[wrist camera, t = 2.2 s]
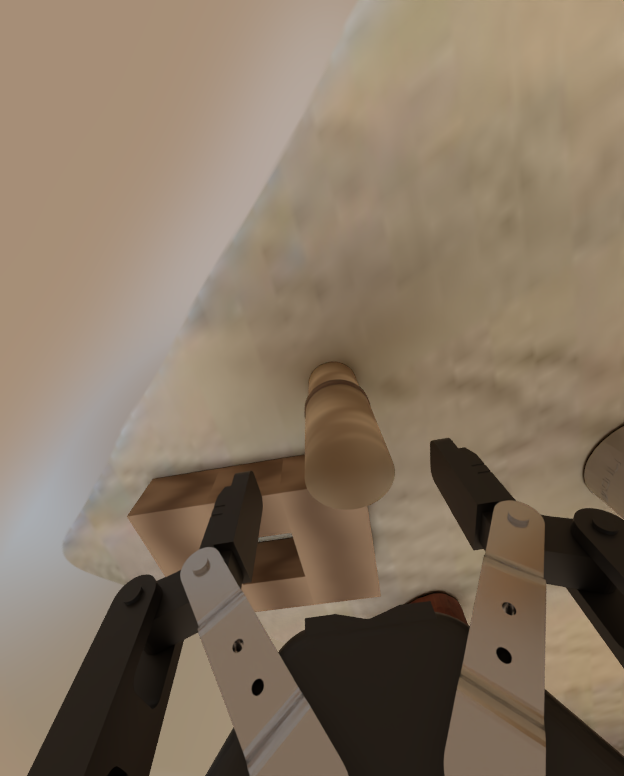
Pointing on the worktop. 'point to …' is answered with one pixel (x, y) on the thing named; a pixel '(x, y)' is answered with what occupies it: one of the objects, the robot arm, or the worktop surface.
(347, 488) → the beech peg
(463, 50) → the worktop surface
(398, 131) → the worktop surface
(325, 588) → the wooden board with hole
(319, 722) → the robot arm
